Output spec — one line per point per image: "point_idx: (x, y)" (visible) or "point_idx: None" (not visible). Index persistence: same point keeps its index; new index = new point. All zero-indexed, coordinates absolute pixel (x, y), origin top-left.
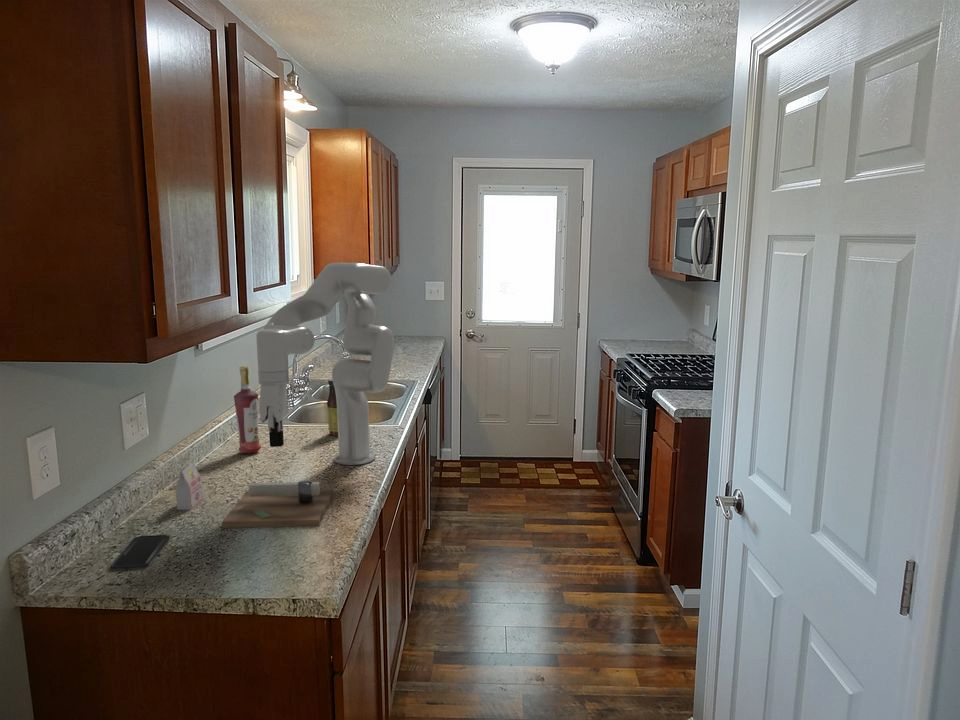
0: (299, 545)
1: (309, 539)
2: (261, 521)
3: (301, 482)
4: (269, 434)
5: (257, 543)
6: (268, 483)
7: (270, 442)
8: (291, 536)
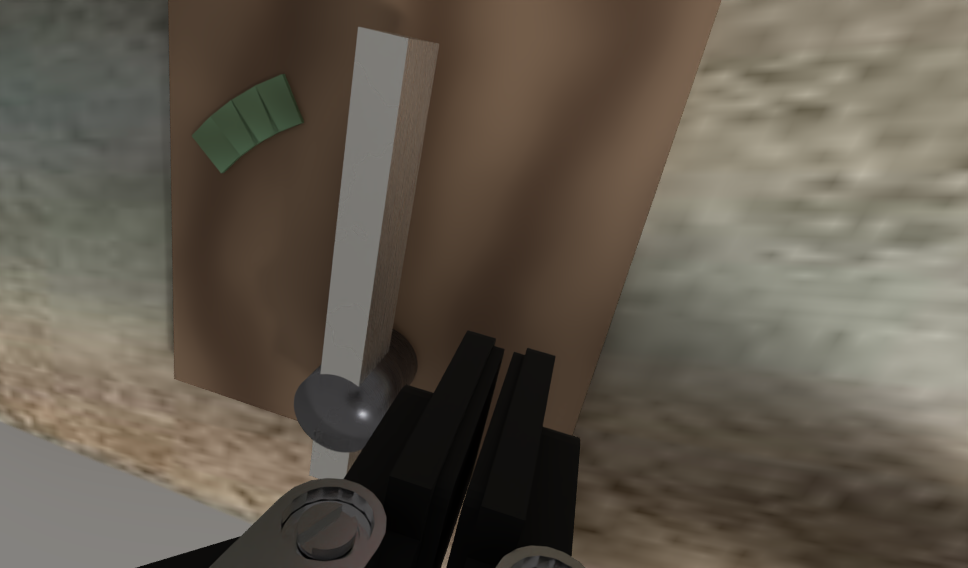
0: (34, 276)
1: (80, 315)
2: (171, 125)
3: (352, 398)
4: (408, 440)
5: (37, 110)
6: (375, 189)
7: (455, 363)
8: (103, 253)
